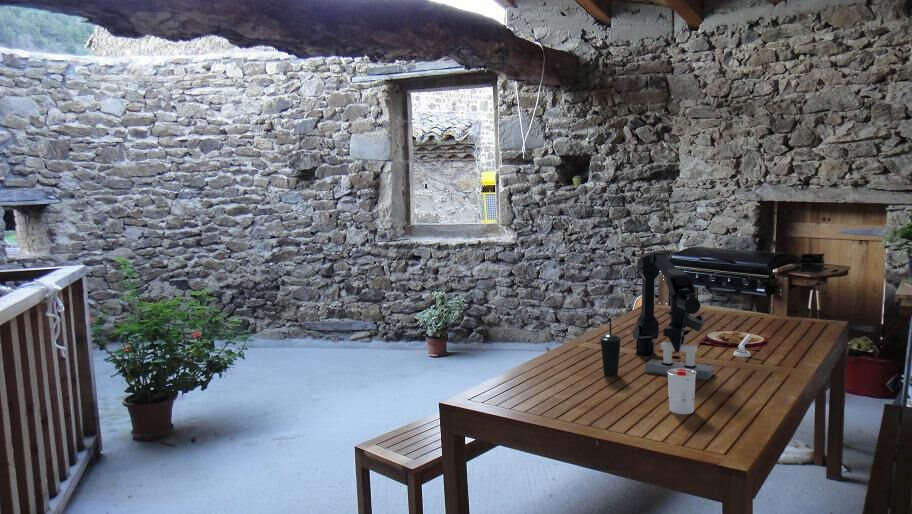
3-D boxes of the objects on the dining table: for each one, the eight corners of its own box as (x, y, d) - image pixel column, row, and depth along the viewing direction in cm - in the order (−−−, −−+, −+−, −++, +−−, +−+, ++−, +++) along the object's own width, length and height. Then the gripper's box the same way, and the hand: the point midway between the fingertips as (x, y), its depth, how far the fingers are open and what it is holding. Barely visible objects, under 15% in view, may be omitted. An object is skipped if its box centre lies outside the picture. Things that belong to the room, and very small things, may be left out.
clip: (660, 362, 242) (660, 343, 241) (663, 360, 245) (663, 342, 244) (695, 366, 235) (695, 347, 235) (697, 364, 238) (697, 345, 237)
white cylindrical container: (661, 406, 207) (661, 368, 205) (687, 404, 207) (688, 366, 206) (674, 417, 197) (674, 377, 195) (702, 415, 197) (702, 375, 196)
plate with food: (697, 345, 282) (697, 337, 281) (717, 332, 302) (717, 324, 302) (759, 354, 267) (759, 345, 266) (775, 339, 287) (775, 331, 287)
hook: (764, 345, 258) (753, 338, 257) (747, 365, 260) (737, 358, 259) (755, 338, 264) (745, 331, 263) (739, 358, 266) (729, 351, 265)
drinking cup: (622, 372, 244) (622, 318, 242) (620, 378, 237) (620, 322, 235) (601, 371, 247) (600, 317, 244) (598, 376, 239) (598, 322, 237)
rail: (645, 372, 243) (645, 364, 243) (651, 366, 250) (651, 359, 249) (708, 380, 231) (708, 371, 231) (713, 374, 238) (713, 366, 237)
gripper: (695, 315, 226) (695, 360, 227) (708, 305, 241) (708, 348, 243) (662, 312, 232) (662, 356, 233) (677, 303, 247) (676, 344, 249)
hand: (678, 351), depth 240 cm, fingers closed on clip, 3 cm apart
